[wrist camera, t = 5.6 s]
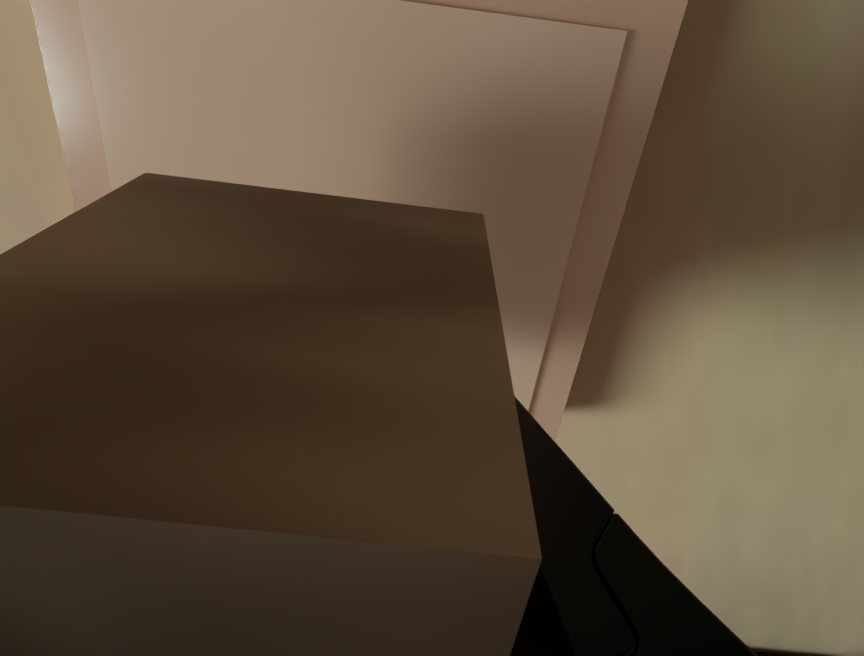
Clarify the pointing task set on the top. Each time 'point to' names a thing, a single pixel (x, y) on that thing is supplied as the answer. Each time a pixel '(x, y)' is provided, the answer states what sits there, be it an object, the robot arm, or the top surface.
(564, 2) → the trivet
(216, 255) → the walnut block
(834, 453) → the top surface
